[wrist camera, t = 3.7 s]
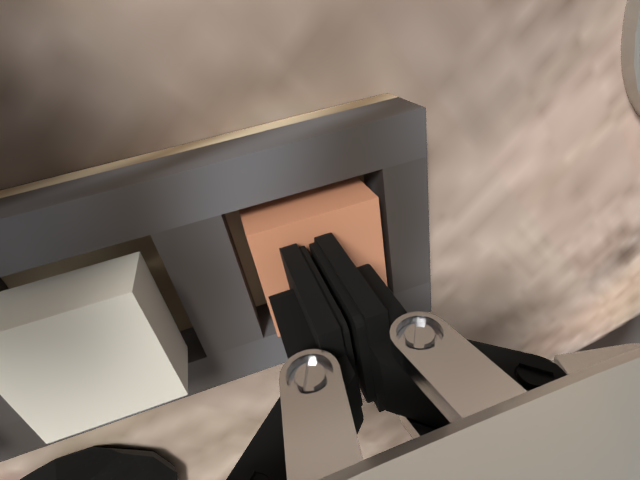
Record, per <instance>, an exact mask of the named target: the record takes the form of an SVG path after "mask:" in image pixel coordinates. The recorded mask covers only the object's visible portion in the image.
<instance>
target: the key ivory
mask: <svg viewBox="0 0 640 480" xmlns="http://www.w3.org/2000/svg"><path fill="white" fill-rule="evenodd" d="M0 395H1V396H2V397H3V398H4V399H5V400H6V402H7V403H8V404H9V405H10V406H11V407H12V408H13V409H14V410H15V411H16V412H17V413H18V414H19V415H20V416H21V417H22V419H23V420H24V421H25V422H26V423H27V424H28V425H29V426H30V427H31V428H32V429H33V430H34V431H35V432H36V433H37V434H38V436H39V437H40V438H41V439H42V440H43V441H44V442H45V443H46V444H48V443H51V442H54V441H57V440H60V439H63V438H65V437H68V436H71V435H74V434H77V433H80V432H83V431H86V430H88V429H91V428H94V427H97V426H100V425H103V424H106V423H108V422H111V421H114V420H117V419H120V418H123V417H126V416H128V415H131V414H134V413H137V412H140V411H143V410H146V409H148V408H151V407H154V406H157V405H160V404H163V403H166V402H169V401H171V400H174V399H177V398H180V397H183V396H186V395H188V347H187V345H186V343H185V341H184V339H183V337H182V335H181V333H180V331H179V329H178V327H177V325H176V323H175V321H174V319H173V317H172V315H171V313H170V311H169V309H168V307H167V305H166V303H165V301H164V299H163V297H162V295H161V293H160V291H159V289H158V287H157V285H156V283H155V281H154V279H153V277H152V275H151V273H150V271H149V269H148V267H147V265H146V263H145V261H144V259H143V257H142V255H141V253H140V251H139V252H136V253H132V254H129V255H125V256H122V257H118V258H115V259H111V260H108V261H104V262H101V263H97V264H94V265H91V266H87V267H84V268H80V269H77V270H73V271H70V272H66V273H63V274H59V275H56V276H52V277H49V278H45V279H42V280H38V281H35V282H32V283H28V284H25V285H21V286H18V287H14V288H11V289H7V290H4V291H0Z"/></svg>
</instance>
